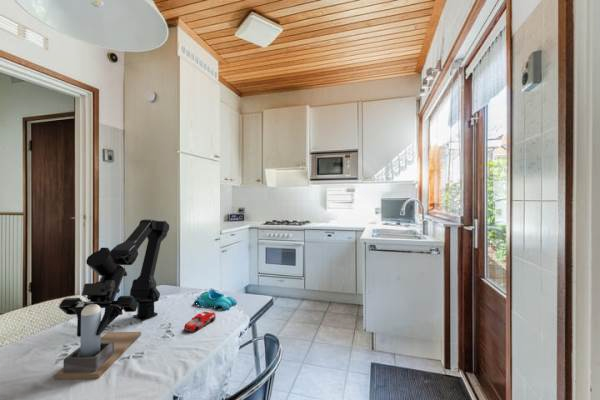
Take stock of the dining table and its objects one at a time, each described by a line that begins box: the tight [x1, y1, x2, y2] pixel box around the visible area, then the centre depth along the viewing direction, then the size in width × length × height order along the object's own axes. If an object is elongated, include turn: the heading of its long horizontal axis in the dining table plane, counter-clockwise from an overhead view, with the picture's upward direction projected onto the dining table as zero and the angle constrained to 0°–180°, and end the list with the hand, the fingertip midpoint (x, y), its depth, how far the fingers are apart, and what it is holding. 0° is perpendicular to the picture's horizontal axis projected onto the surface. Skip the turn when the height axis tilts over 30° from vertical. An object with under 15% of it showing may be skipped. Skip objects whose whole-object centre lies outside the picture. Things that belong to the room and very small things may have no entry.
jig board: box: [53, 331, 142, 381], centre depth 80 cm, size 22×11×5 cm, turn 5°
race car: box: [183, 310, 217, 333], centre depth 100 cm, size 13×5×4 cm, turn 155°
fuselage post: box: [79, 304, 102, 357], centre depth 74 cm, size 4×4×15 cm
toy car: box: [193, 288, 238, 312], centre depth 120 cm, size 11×18×7 cm, turn 71°
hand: (87, 335), depth 73 cm, fingers closed on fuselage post, 4 cm apart
